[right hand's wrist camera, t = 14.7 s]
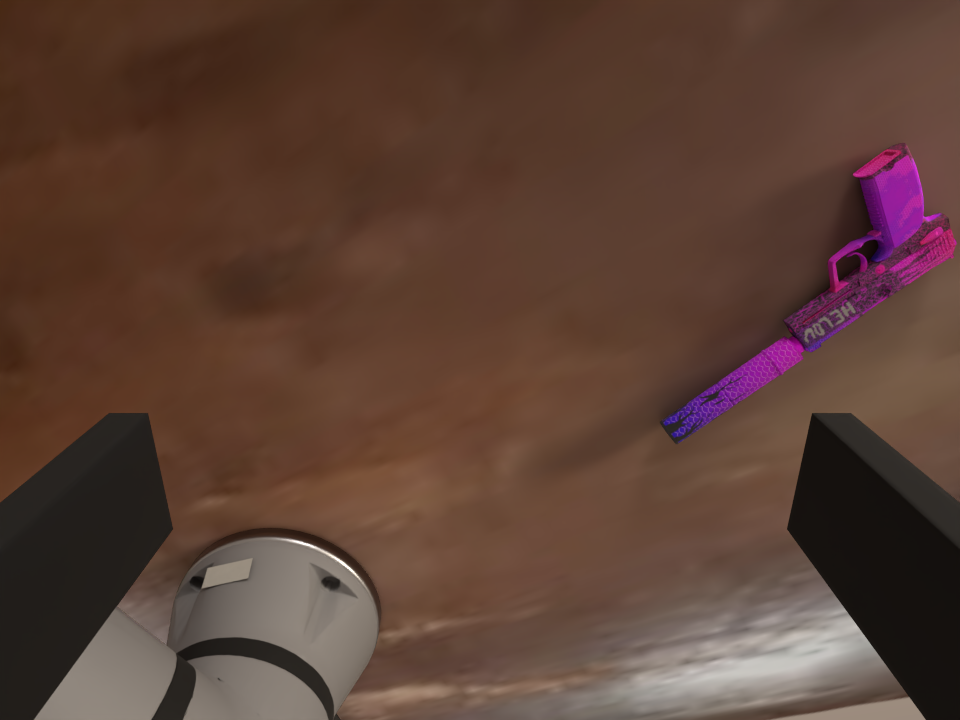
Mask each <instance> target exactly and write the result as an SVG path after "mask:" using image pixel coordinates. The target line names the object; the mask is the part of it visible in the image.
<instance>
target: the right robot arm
mask: <svg viewBox="0 0 960 720" xmlns="http://www.w3.org/2000/svg"><path fill="white" fill-rule="evenodd" d="M172 530H173V527H172V523H171V518H170V513H169V509H168V504H167V499H166V495H165V490H164V486H163V481H162V476H161V472H160V467H159V462H158V458H157V453H156V449H155V444H154V439H153V435H152V430H151V425H150V421H149V416H148V413H109V414H108V415H106V416H105V417H104V418H103V419H102V420H100V421H99V422H98V423H97V424H95V425H94V426H93V427H92V428H91V429H89V430H88V431H87V432H86V433H85V434H83V435H82V436H81V437H80V438H78V439H77V440H76V441H75V442H74V443H72V444H71V445H70V446H69V447H68V448H66V449H65V450H64V451H63V452H61V453H60V454H59V455H58V456H57V457H55V458H54V459H53V460H52V461H51V462H49V463H48V464H47V465H46V466H44V467H43V468H42V469H41V470H40V471H38V472H37V473H36V474H35V475H34V476H32V477H31V478H30V479H29V480H27V481H26V482H25V483H24V484H23V485H21V486H20V487H19V488H18V489H17V490H15V491H14V492H13V493H12V494H10V495H9V496H8V497H7V498H6V499H4V500H3V501H2V502H1V503H0V720H340V718H339V717H338V715H337V714H336V713H337V711H338V710H339V708H340V707H341V705H342V703H343V702H344V700H345V699H346V697H347V696H348V694H349V693H350V691H351V689H352V688H353V686H354V685H355V683H356V682H357V680H358V679H359V677H360V676H361V674H362V672H363V671H364V669H365V668H366V666H367V664H368V662H369V660H370V658H371V656H372V654H373V652H374V649H375V646H376V643H377V638H378V633H379V628H380V622H381V607H380V601H379V597H378V594H377V591H376V589H375V586H374V584H373V583H372V581H371V579H370V577H369V576H368V575H367V573H366V572H365V571H364V569H363V568H362V567H361V566H360V565H359V564H358V563H357V562H356V561H355V560H354V559H353V558H352V557H351V556H350V555H348V554H347V553H346V552H344V551H343V550H341V549H340V548H339V547H337V546H335V545H333V544H332V543H330V542H328V541H325V540H323V539H321V538H319V537H316V536H313V535H310V534H307V533H303V532H299V531H294V530H288V529H278V528H263V529H253V530H247V531H243V532H239V533H236V534H233V535H230V536H228V537H225V538H223V539H221V540H219V541H217V542H216V543H214V544H213V545H211V546H210V547H208V548H207V549H206V550H205V551H204V552H202V553H201V554H200V556H199V557H198V558H197V559H196V560H195V562H194V563H193V564H192V566H191V567H190V569H189V571H188V572H187V574H186V575H185V577H184V578H183V580H182V582H181V584H180V586H179V589H178V591H177V594H176V597H175V600H174V604H173V609H172V615H171V621H170V627H169V634H168V640H167V645H165V644H164V643H163V642H161V641H160V640H159V639H158V638H156V637H155V636H154V635H152V634H151V633H150V632H149V631H147V630H146V629H145V628H144V627H142V626H141V625H140V624H138V623H137V622H136V621H135V620H133V619H132V618H131V617H129V616H128V615H127V614H126V613H124V612H123V611H122V610H121V609H119V608H118V607H117V605H118V604H119V602H120V601H121V600H122V598H123V597H124V596H125V594H126V593H127V591H128V590H129V589H130V587H131V586H132V585H133V583H134V582H135V580H136V579H137V578H138V576H139V575H140V574H141V572H142V571H143V569H144V568H145V567H146V565H147V564H148V563H149V561H150V560H151V558H152V557H153V556H154V554H155V553H156V552H157V550H158V549H159V548H160V546H161V545H162V543H163V542H164V541H165V539H166V538H167V537H168V535H169V534H170V532H171V531H172ZM787 530H788V531H789V532H790V534H791V535H792V537H793V538H794V539H795V541H796V542H797V543H798V545H799V546H800V548H801V549H802V550H803V552H804V553H805V554H806V556H807V557H808V558H809V560H810V561H811V563H812V564H813V565H814V567H815V568H816V569H817V571H818V572H819V574H820V575H821V576H822V578H823V579H824V580H825V582H826V583H827V585H828V586H829V587H830V589H831V590H832V591H833V593H834V594H835V596H836V597H837V598H838V600H839V601H840V602H841V604H842V605H843V606H844V608H845V609H846V611H847V612H848V613H849V615H850V616H851V617H852V619H853V620H854V622H855V623H856V624H857V626H858V627H859V628H860V630H861V631H862V633H863V634H864V635H865V637H866V638H867V639H868V641H869V642H870V644H871V645H872V646H873V648H874V649H875V650H876V652H877V653H878V655H879V656H880V657H881V659H882V660H883V661H884V663H885V664H886V665H887V667H888V668H889V670H890V671H891V672H892V674H893V675H894V676H895V678H896V679H897V681H898V682H899V683H900V685H901V686H902V687H903V689H904V690H905V692H906V693H907V694H908V696H909V697H910V698H911V700H912V701H913V703H914V704H915V705H916V707H917V708H918V709H919V711H920V712H921V713H922V715H923V716H924V718H925V719H926V720H960V503H959V502H958V501H957V500H956V499H954V498H953V497H952V496H951V495H950V494H948V493H947V492H946V491H945V490H943V489H942V488H941V487H940V486H939V485H937V484H936V483H935V482H934V481H933V480H931V479H930V478H929V477H928V476H926V475H925V474H924V473H923V472H922V471H920V470H919V469H918V468H917V467H916V466H914V465H913V464H912V463H911V462H909V461H908V460H907V459H906V458H905V457H903V456H902V455H901V454H900V453H899V452H897V451H896V450H895V449H894V448H892V447H891V446H890V445H889V444H888V443H886V442H885V441H884V440H883V439H882V438H880V437H879V436H878V435H877V434H875V433H874V432H873V431H872V430H871V429H869V428H868V427H867V426H866V425H865V424H863V423H862V422H861V421H860V420H858V419H857V418H856V417H855V416H854V415H852V414H851V413H812V416H811V421H810V425H809V430H808V435H807V439H806V444H805V449H804V453H803V458H802V462H801V467H800V472H799V476H798V481H797V486H796V490H795V495H794V499H793V504H792V509H791V513H790V518H789V523H788V527H787Z"/></svg>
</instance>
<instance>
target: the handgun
mask: <svg viewBox="0 0 960 720" xmlns="http://www.w3.org/2000/svg"><path fill="white" fill-rule="evenodd" d="M853 176H855V177H858V178H859V180H860V183H861V184H860V185H861V186H862V187H861V189H862V192H863V193H864V194H863V195H864V199H865V202H866V204H865V205H867V207H866V208H867V209H868V210H867V211H868V212H869V213H868V215H870V217H869V218H870V219H871V220H870V221H871V224H872V225H873V228H874V230H871V231H870V232H868V233H867V235H866V236H864V237H862V238H860V239H856V240H853V241H851V242H849V243H848V244H847V245H846V246H845V247H843V248H842V249H841V250H840V251H838V252H837V253H836V254H835V255H833V256H832V257H831V258H830V259H829V260H828V270H829V279H830V288H829V289H827V290H826V291H825V292H823V293H822V294H820V295H819V296H817V297H816V298H815V299H813V300H812V301H810V302H809V303H807V304H806V305H805V306H803V307H802V308H800V309H799V310H797V311H796V312H795V313H793V314H792V315H790V316H789V317H787V318H786V319H785V320H783V321H784V322H785V324H786V325H787V327H788V330H789V331H790V333H791V334H792V335H793V336H794V337H793V336H792V337H790V338H789V339H788V338H786V337H785V336H784V337H783V338H781V339H780V340H778V341H777V342H775V343H774V344H773V345H771V346H770V347H768V348H767V349H765V350H762V351H761V352H760V353H759V354H758V355H757V356H755V357H754V358H752V359H751V360H749V361H748V362H746V363H745V364H743V365H742V366H741V367H739V368H738V369H736V370H735V371H733V372H732V373H730V374H729V375H727V376H726V377H725V378H723V379H722V380H720V381H719V382H717V384H714V385H713V386H712V387H710V388H709V389H707V390H706V391H704V392H703V393H701V394H700V395H698V396H697V397H696V398H694V399H693V400H691V401H690V402H688V403H687V404H685V405H684V406H683V407H681V408H680V409H678V410H677V411H675V412H674V413H672V414H671V415H669V416H668V417H667V418H665V419H664V420H662V421H661V422H660V423H661V425H662V427H663V428H664V429H665V431H666V432H667V434H668V435H669V436H670V437H671V439H672V440H673V441H674V442H675V443H676V444H678V443H679V442H681V441H682V440H684V439H685V438H687V437H688V436H690V435H691V434H693V433H694V432H696V431H697V430H699V429H700V428H702V427H703V426H705V425H706V424H708V423H709V422H711V421H712V420H714V419H715V418H717V417H718V416H719V415H721V414H722V413H724V412H725V411H727V410H728V409H730V408H731V407H733V405H736V404H737V403H739V402H740V401H742V400H743V399H745V398H746V397H748V396H749V395H751V394H752V393H754V392H755V391H757V390H758V389H760V388H761V387H762V386H764V385H765V384H767V383H768V382H770V381H771V380H773V379H774V378H776V377H777V376H779V375H782V374H783V372H785V371H786V370H788V369H789V368H791V367H792V366H794V365H795V364H796V363H798V362H799V361H801V360H803V357H802V355H801V353H802V352H803V351H804V350H806V351H809V352H813V351H814V350H816V349H817V348H819V347H821V345H820V344H821V343H822V342H824V341H825V340H827V339H828V338H829V337H831V336H832V335H834V334H835V333H837V332H838V331H840V330H841V329H843V328H844V327H846V326H847V325H849V324H850V323H852V322H853V321H855V320H856V319H858V318H859V317H861V316H862V315H863V314H864V313H865V312H867V311H868V310H870V309H871V308H873V307H874V306H876V305H877V304H878V303H880V302H881V301H883V300H884V299H886V298H887V297H890V296H892V295H893V294H895V293H896V292H898V291H899V290H900V289H902V288H903V287H905V286H906V285H908V284H909V283H911V282H912V281H914V280H915V279H917V278H918V277H920V276H921V275H923V274H924V273H926V272H927V271H929V270H930V269H932V268H933V267H934V266H937V265H938V264H940V263H942V262H944V261H945V260H947V259H948V258H953V257H954V255H953V252H954V248H955V245H956V241H955V239H954V238H953V234H952V230H951V229H950V224H949V219H948V217H946V216H945V215H944V214H942V213H937V214H934V215H931V216H927V217H924V216H923V210H924V203H923V193H922V187H921V183H920V179H919V175H918V172H917V168H916V165H915V162H914V160H913V158H912V155H911V153H910V151H909V149H908V147H907V145H906V144H905V143H900V144H897V145H893V146H891V147H890V148H888V149H887V150H885V151H883V152H882V153H881V154H879V155H878V156H877V157H875V158H874V159H873V160H871V161H870V162H868V163H867V164H866V165H864V166H863V167H862V168H860V169H859V170H858V171H856V172H855V173H854V174H853ZM869 240H876V241H877V242H878V249H877V251H876V252H875V254H874V255H873V256H872V258H871V259H869V260H868V261H867V259H866V258H865V256H863V255H862V254H860V253H858V252H851V251H854V250H856V249H858V248H860V247H861V246H862V245H863V244H864V242H866V241H869ZM848 253H849V254H848ZM846 254H848V255H847V256H846V257H849V256H852V255H853V254H857V255H858V256H859V257H860V260H861V265H860V266H859V267H858V268H856V269H855V270H854V271H852V272H851V273H849V274H848V275H847V276H846V277H845V278H843V279H842V280H840V281H839V280H838V275H837V269H836V264H835V263H836V262H837V261H838V260H839V259H840V258H841V257H843V256H844V255H846Z"/></svg>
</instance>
